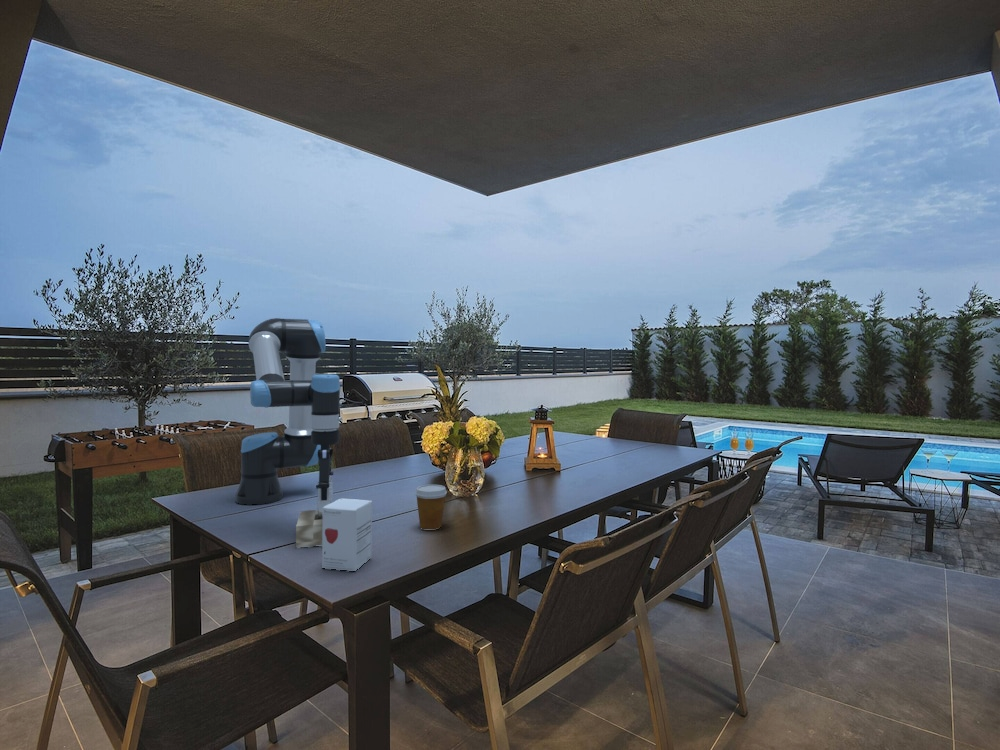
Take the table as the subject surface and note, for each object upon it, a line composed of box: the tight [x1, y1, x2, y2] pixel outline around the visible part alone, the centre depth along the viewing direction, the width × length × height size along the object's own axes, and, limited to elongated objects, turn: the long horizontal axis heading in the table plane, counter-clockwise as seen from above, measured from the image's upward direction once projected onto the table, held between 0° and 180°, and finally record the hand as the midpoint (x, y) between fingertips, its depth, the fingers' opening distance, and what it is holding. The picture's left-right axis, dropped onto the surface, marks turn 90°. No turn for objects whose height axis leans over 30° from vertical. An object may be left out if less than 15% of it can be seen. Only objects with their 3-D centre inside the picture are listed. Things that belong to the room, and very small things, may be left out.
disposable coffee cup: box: [414, 484, 448, 530], centre depth 152 cm, size 10×10×12 cm
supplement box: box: [321, 497, 373, 572], centre depth 124 cm, size 9×9×15 cm
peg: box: [317, 480, 334, 520], centre depth 143 cm, size 4×4×14 cm
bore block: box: [295, 509, 322, 548], centre depth 143 cm, size 14×14×6 cm
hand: (325, 504), depth 143 cm, fingers open, 13 cm apart
